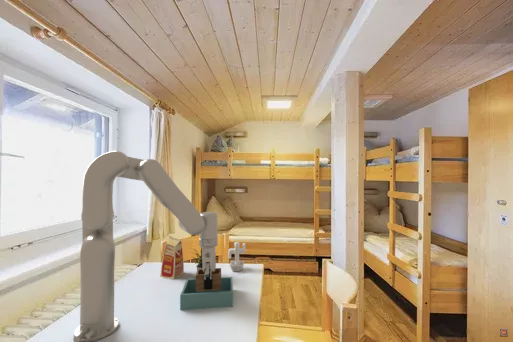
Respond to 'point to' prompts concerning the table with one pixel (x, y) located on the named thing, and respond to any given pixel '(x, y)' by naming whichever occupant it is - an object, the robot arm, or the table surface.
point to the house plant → (198, 260)
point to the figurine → (236, 256)
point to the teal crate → (206, 296)
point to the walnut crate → (215, 280)
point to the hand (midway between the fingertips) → (208, 284)
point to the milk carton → (172, 259)
